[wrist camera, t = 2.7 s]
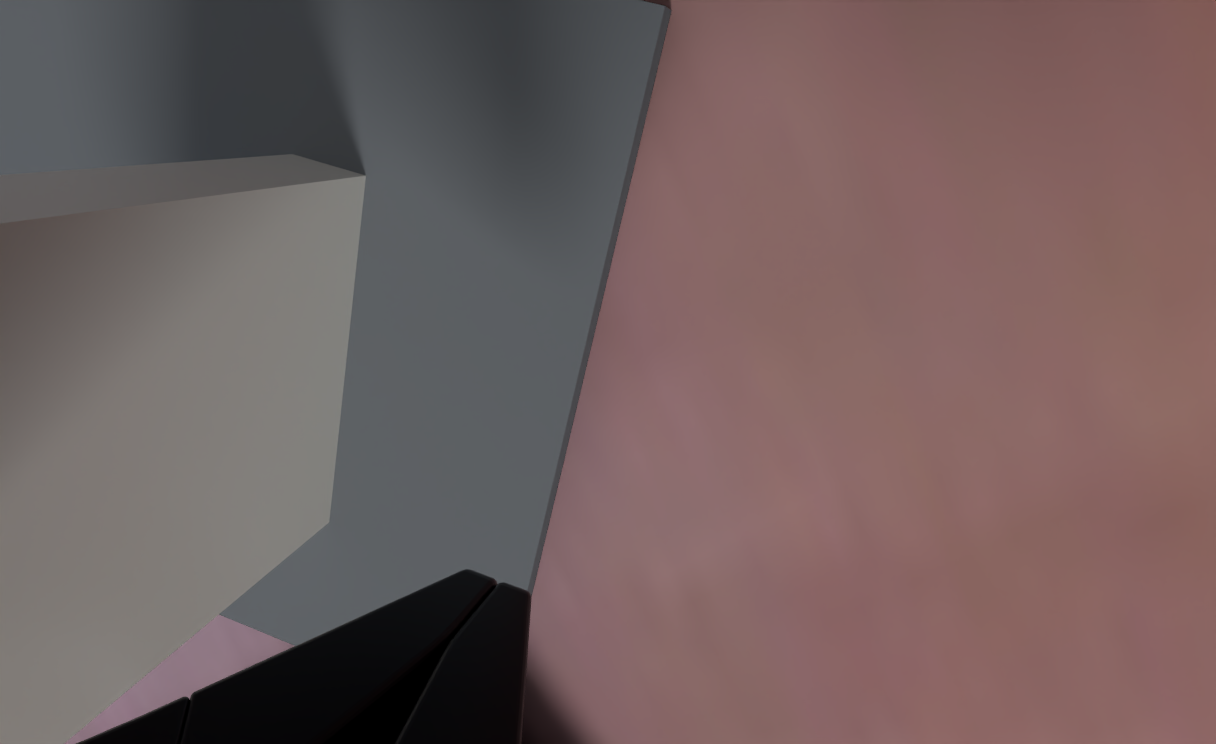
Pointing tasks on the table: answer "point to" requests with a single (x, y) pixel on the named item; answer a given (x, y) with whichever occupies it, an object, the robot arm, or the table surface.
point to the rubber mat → (389, 234)
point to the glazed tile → (159, 409)
